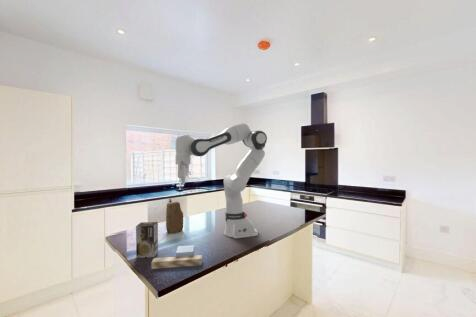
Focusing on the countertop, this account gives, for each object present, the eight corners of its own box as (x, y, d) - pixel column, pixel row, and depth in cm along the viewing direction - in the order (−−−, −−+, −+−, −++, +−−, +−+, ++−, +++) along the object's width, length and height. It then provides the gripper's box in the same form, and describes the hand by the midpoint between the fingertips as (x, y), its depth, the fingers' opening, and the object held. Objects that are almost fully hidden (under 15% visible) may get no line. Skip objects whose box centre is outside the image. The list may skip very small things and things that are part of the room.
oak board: (201, 261, 100) (201, 254, 100) (201, 265, 96) (201, 258, 96) (153, 264, 97) (153, 258, 98) (151, 268, 94) (151, 262, 94)
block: (167, 234, 137) (167, 204, 138) (165, 231, 144) (165, 202, 144) (184, 231, 143) (184, 202, 143) (181, 228, 149) (181, 200, 150)
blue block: (194, 254, 108) (194, 245, 108) (193, 262, 100) (193, 251, 100) (178, 256, 107) (178, 246, 107) (175, 263, 99) (175, 252, 99)
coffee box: (158, 252, 111) (158, 221, 111) (154, 257, 105) (154, 225, 105) (141, 252, 111) (140, 221, 111) (135, 258, 104) (135, 225, 104)
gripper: (186, 161, 117) (186, 186, 117) (190, 161, 138) (190, 182, 137) (174, 161, 117) (174, 186, 116) (180, 161, 137) (180, 182, 137)
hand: (183, 184), depth 127 cm, fingers closed
